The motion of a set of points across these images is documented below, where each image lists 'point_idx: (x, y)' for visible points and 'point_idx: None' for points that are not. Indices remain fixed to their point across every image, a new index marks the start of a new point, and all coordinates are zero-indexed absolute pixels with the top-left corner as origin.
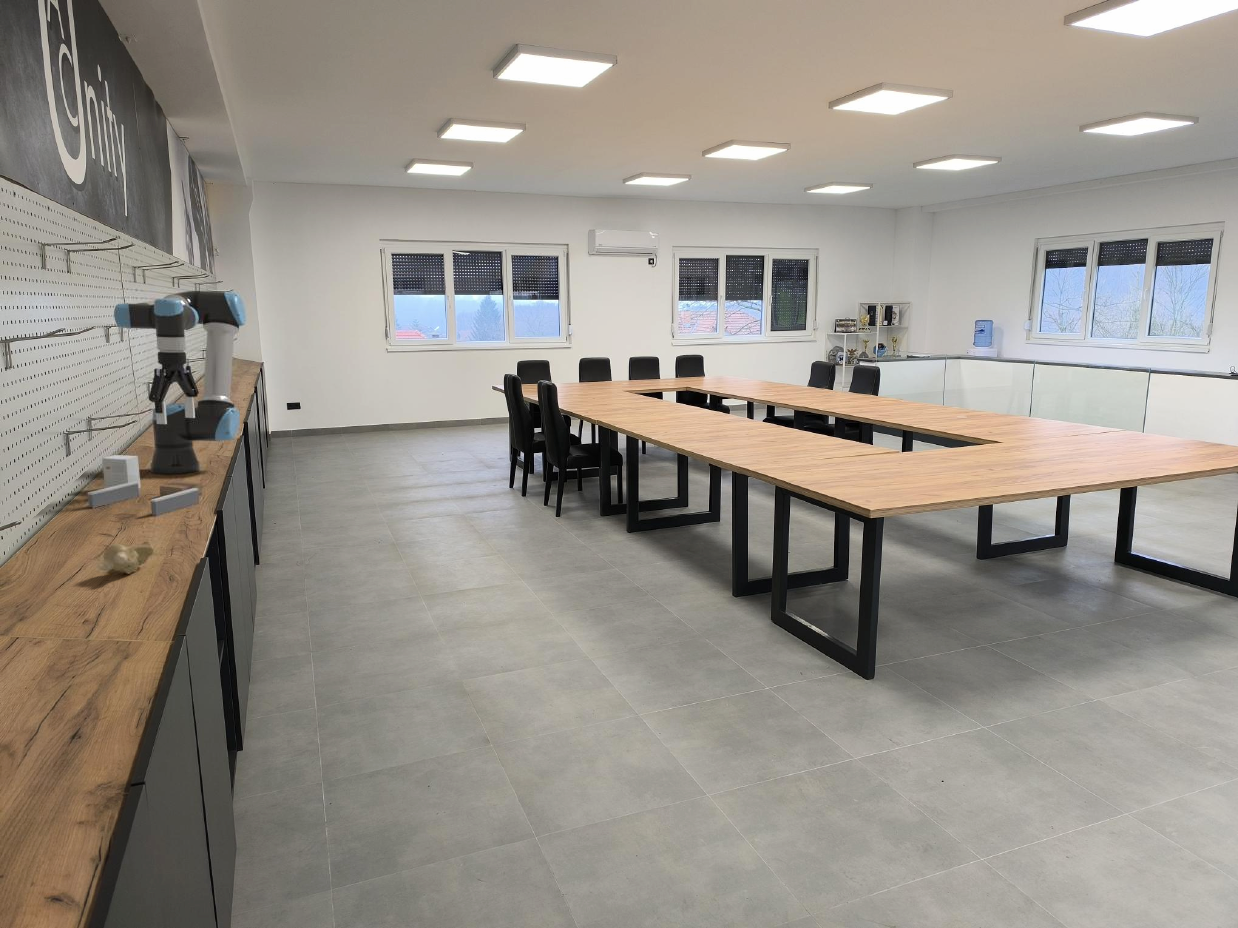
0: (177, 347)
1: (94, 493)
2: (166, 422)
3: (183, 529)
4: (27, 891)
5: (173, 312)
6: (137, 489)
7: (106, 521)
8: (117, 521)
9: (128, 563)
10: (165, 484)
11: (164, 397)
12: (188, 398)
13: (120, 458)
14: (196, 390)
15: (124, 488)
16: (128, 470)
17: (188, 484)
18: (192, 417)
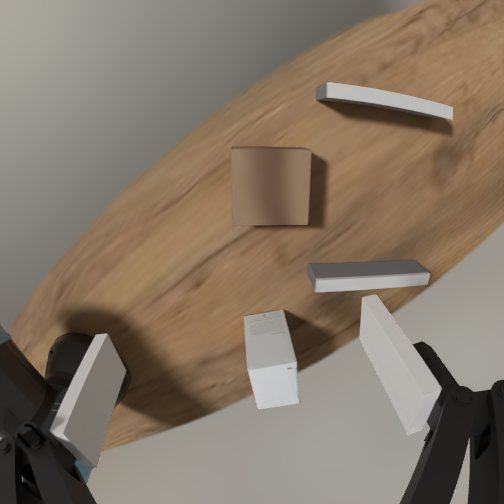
0: None
1: (425, 273)
2: (367, 302)
3: (466, 19)
4: None
5: None
6: (316, 271)
7: (474, 169)
8: (471, 151)
9: None
10: (289, 222)
11: (441, 428)
12: (82, 444)
13: (290, 377)
14: (7, 460)
15: (354, 275)
16: (286, 341)
17: (265, 166)
18: (109, 340)
